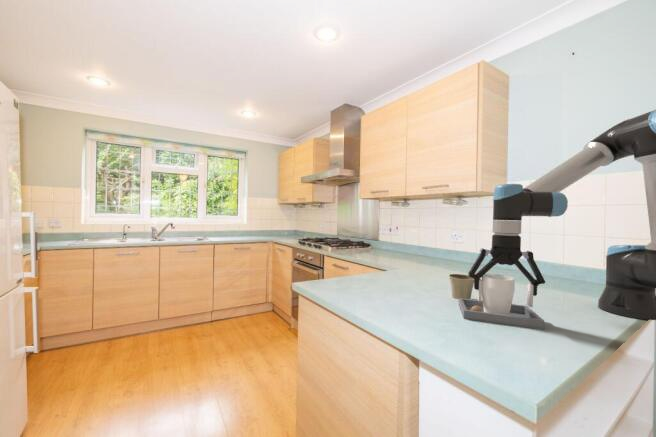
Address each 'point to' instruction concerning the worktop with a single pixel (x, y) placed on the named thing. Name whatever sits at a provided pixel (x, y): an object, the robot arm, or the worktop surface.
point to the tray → (516, 317)
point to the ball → (477, 308)
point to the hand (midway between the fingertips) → (503, 303)
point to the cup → (497, 293)
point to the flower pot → (461, 286)
